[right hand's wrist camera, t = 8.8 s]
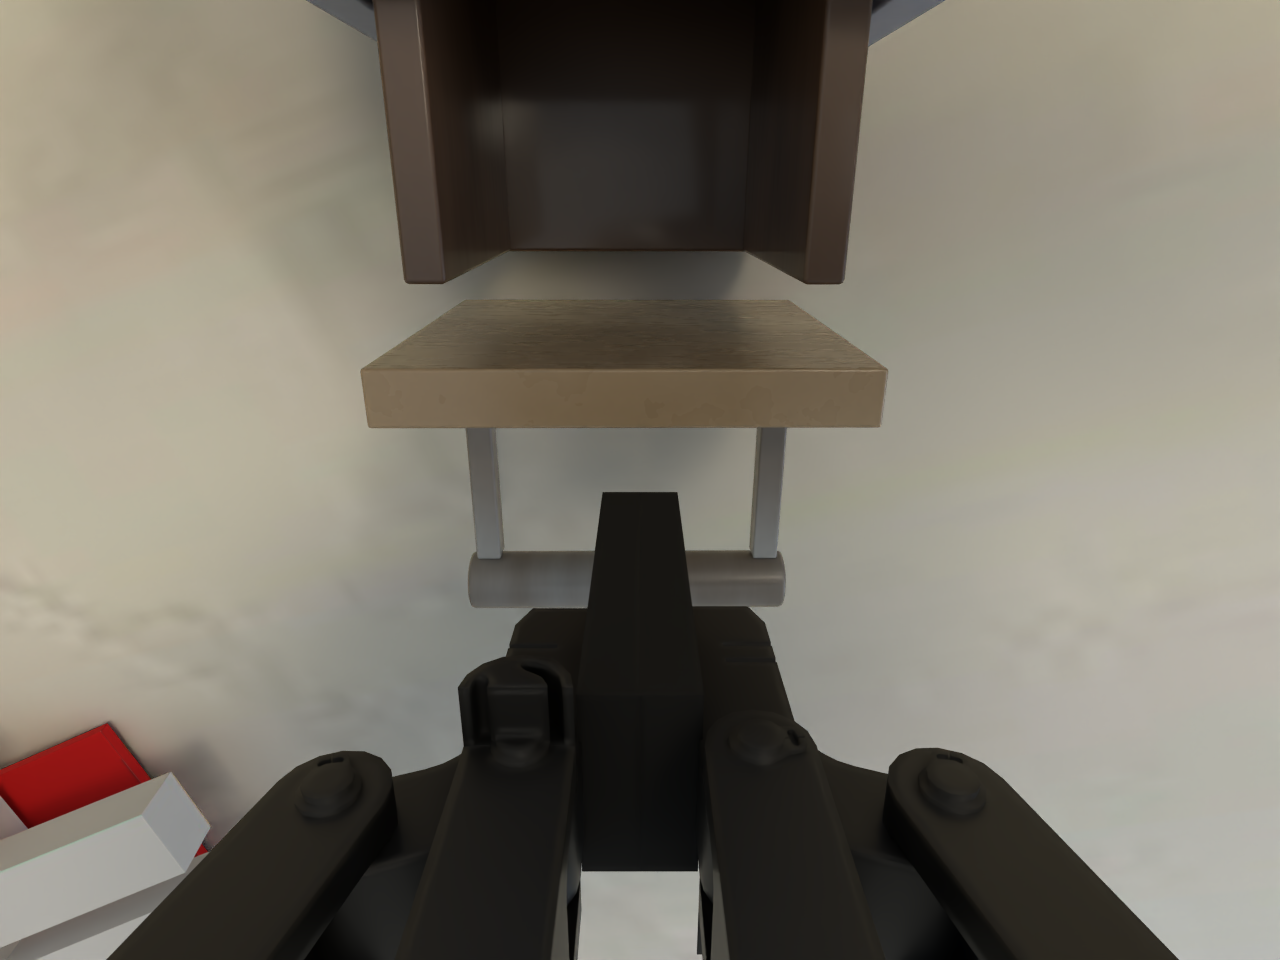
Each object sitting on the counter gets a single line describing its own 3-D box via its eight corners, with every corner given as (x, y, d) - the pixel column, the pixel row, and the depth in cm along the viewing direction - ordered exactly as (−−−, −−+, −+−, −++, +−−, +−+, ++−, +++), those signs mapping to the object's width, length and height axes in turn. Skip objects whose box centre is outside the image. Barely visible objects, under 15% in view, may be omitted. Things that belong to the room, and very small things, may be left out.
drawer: (774, 497, 25) (852, 661, 17) (481, 498, 25) (400, 663, 16) (847, -470, 17) (1094, -1216, 8) (399, -476, 17) (132, -1241, 8)
